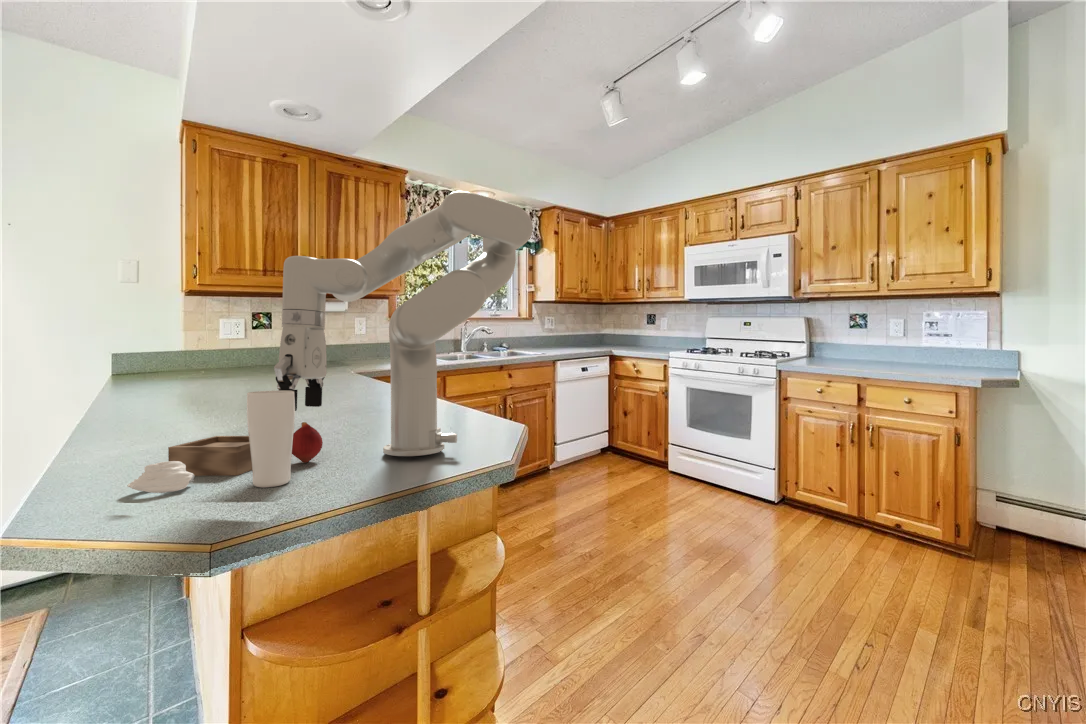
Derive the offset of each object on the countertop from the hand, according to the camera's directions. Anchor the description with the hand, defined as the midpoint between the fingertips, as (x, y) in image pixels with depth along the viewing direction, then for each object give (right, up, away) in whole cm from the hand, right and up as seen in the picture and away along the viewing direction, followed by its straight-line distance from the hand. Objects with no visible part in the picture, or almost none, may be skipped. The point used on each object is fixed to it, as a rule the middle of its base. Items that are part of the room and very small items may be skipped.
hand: (301, 408), depth 91 cm
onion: (+1, -11, 0) cm, 11 cm away
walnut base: (-12, -11, -4) cm, 17 cm away
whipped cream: (-11, -11, -19) cm, 25 cm away
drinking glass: (+3, -11, -15) cm, 19 cm away
